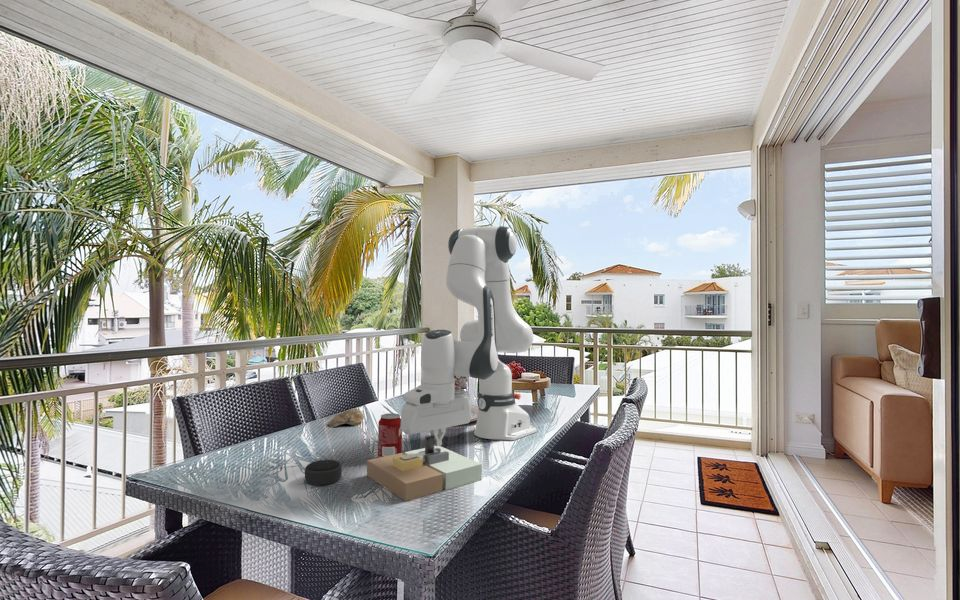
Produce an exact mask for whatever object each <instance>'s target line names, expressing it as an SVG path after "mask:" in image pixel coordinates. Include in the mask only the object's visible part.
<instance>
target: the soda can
mask: <svg viewBox="0 0 960 600" xmlns="http://www.w3.org/2000/svg"><path fill="white" fill-rule="evenodd" d="M377 426H378V427H377V428H378V429H377V430H378V431H377V432H378V436H377V437H378V438H377V440H378V441H377V451H378V452H377V455H378V458H380V457H385V456H390V455H394V454H399V453H402V454H403V431H402V429H401V414H399V413H395V412H393V413H392V412H391V413H390V412H389V413H384V414H381V415H380V419H379V421H378V425H377Z"/></svg>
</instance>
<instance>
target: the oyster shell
mask: <svg viewBox="0 0 960 600" xmlns="http://www.w3.org/2000/svg"><path fill="white" fill-rule="evenodd" d="M364 419H365V414H364V412H362V411H361V410H360V409H359V408H351V409H347V410H344V411H343V412H339V413H338V414H336V415H335V416H334V417H333V418H332V419H331V420H330V421H329V422H328V426H329V428H335V427H338V426H342V425H345V424H347V425H350V426H355V425H356V426H359V425H361V424H362V422H363V421H364Z"/></svg>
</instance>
